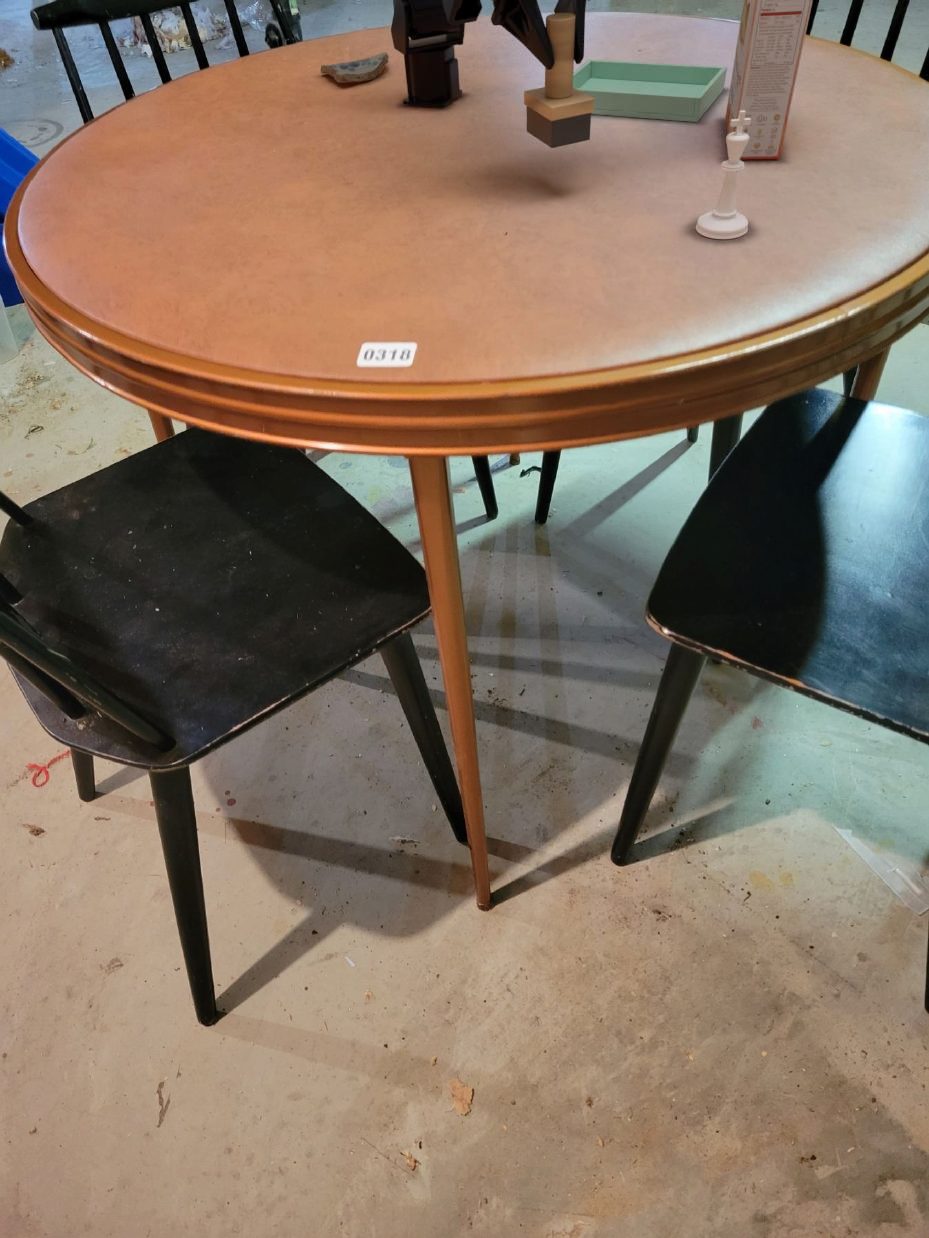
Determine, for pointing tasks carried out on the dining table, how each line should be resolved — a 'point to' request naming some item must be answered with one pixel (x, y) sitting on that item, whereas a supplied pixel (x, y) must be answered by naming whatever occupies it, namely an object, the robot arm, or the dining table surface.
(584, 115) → the scrub brush
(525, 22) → the robot arm
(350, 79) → the ceramic fragment
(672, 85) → the tray
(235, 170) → the dining table surface
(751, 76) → the cracker box
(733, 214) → the chess piece
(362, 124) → the dining table surface
